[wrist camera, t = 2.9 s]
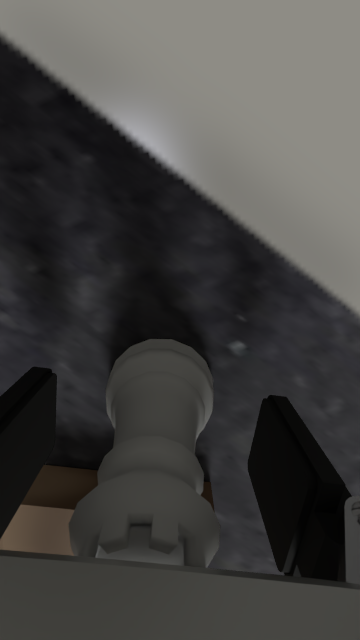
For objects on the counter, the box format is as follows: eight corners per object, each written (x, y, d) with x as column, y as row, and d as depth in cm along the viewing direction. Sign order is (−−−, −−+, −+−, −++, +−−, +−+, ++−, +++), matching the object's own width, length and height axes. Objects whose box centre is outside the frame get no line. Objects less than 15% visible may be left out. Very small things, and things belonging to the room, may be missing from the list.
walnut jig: (210, 482, 15) (215, 523, 13) (165, 707, 20) (163, 764, 17) (-175, 441, 14) (-238, 478, 12) (-123, 686, 19) (-161, 744, 17)
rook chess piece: (99, 344, 13) (-21, 510, 5) (203, 326, 13) (244, 469, 5) (123, 433, 14) (56, 678, 6) (219, 417, 14) (272, 651, 6)
